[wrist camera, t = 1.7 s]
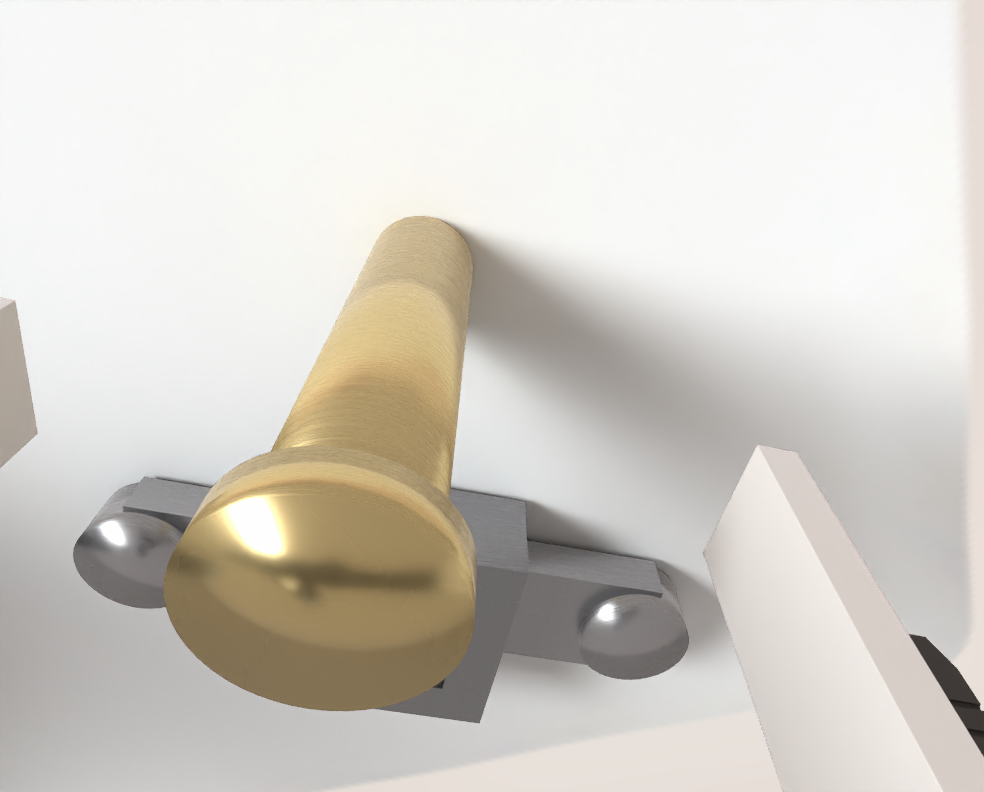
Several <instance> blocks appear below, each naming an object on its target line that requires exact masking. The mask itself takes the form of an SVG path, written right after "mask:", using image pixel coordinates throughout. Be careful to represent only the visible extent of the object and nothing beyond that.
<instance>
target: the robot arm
mask: <svg viewBox="0 0 984 792" xmlns="http://www.w3.org/2000/svg"><path fill="white" fill-rule="evenodd" d="M37 434H38V433H37V427H36V421H35V415H34V409H33V403H32V397H31V391H30V385H29V380H28V374H27V368H26V362H25V356H24V350H23V344H22V338H21V332H20V326H19V320H18V314H17V308H16V302H15V300H11V299H6V298H1V297H0V468H1V467H2V466H3V465H4V464H5V463H6V462H7V461H8V460H10V459H11V458H12V457H13V456H14V455H15V454H16V453H17V452H18V451H19V450H20V449H21V448H22V447H24V446H25V445H26V444H27V443H28V442H29V441H30V440H31V439H32V438H33V437H34V436H35V435H37ZM703 555H704V558H705V561H706V563H707V566H708V569H709V572H710V575H711V578H712V581H713V584H714V587H715V590H716V593H717V596H718V599H719V602H720V605H721V608H722V611H723V614H724V617H725V620H726V623H727V626H728V629H729V632H730V635H731V638H732V641H733V644H734V647H735V650H736V653H737V656H738V659H739V662H740V665H741V668H742V671H743V674H744V677H745V680H746V683H747V686H748V689H749V692H750V695H751V698H752V701H753V704H754V707H755V710H756V713H757V715H758V719H759V722H760V725H761V728H762V731H763V734H764V737H765V740H766V742H767V746H768V749H769V752H770V755H771V757H772V760H773V763H774V766H775V769H776V772H777V775H778V778H779V781H780V784H781V787H782V790H783V792H984V711H981V710H980V703H979V701H978V700H977V698H976V697H975V695H974V693H973V692H972V691H971V689H970V688H969V686H968V684H967V683H966V681H965V680H964V678H963V677H962V675H961V674H960V672H959V671H958V669H957V668H956V667H955V666H954V665H953V664H952V663H951V662H950V661H949V660H948V659H947V658H946V657H945V656H944V655H943V654H942V653H941V652H940V651H939V650H938V649H937V648H936V647H935V646H934V645H933V644H932V643H931V642H930V641H929V640H928V639H927V638H926V637H922V636H916V635H910V634H908V633H907V631H906V629H905V628H904V626H903V625H902V623H901V621H900V620H899V618H898V616H897V615H896V613H895V611H894V610H893V608H892V607H891V605H890V603H889V602H888V600H887V598H886V597H885V595H884V594H883V592H882V590H881V589H880V587H879V585H878V584H877V582H876V580H875V579H874V577H873V576H872V574H871V572H870V571H869V569H868V567H867V566H866V564H865V562H864V561H863V559H862V558H861V556H860V554H859V553H858V551H857V549H856V548H855V546H854V545H853V543H852V541H851V540H850V538H849V536H848V535H847V533H846V531H845V530H844V528H843V527H842V525H841V523H840V522H839V520H838V518H837V517H836V515H835V513H834V512H833V510H832V509H831V507H830V505H829V504H828V502H827V500H826V499H825V497H824V496H823V494H822V492H821V491H820V489H819V487H818V486H817V484H816V482H815V481H814V479H813V478H812V476H811V474H810V473H809V471H808V469H807V468H806V466H805V465H804V463H803V461H802V460H801V458H800V456H799V455H798V453H797V452H793V451H788V450H783V449H778V448H772V447H767V446H762V445H757V447H756V449H755V451H754V453H753V455H752V457H751V459H750V461H749V463H748V465H747V467H746V469H745V471H744V473H743V475H742V477H741V479H740V481H739V483H738V484H737V486H736V488H735V490H734V492H733V494H732V496H731V498H730V500H729V502H728V504H727V506H726V508H725V510H724V512H723V514H722V516H721V518H720V520H719V522H718V524H717V526H716V528H715V530H714V532H713V534H712V536H711V538H710V540H709V542H708V544H707V546H706V548H705V550H704V552H703Z"/></svg>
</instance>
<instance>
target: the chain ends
mask: <svg viewBox="0 0 984 792" xmlns="http://www.w3.org/2000/svg"><path fill="white" fill-rule="evenodd" d="M210 490H211V488H209V487H203V486H197V485H191V484H185V483H179V482H173V481H167V480H161V479H155V478H149V477H144V478H143V479H142V480H141V482H140V483H135V484H131V485H128V486H125V487H123V488H121V489H119V490H118V491H117V492H115V493H114V494H113V495H112V496H111V498H110V499H109V500H108V501H107V503H106V504H105V505H104V507H103V508H102V509H101V510H100V512H99V513H98V514H97V516H96V517H95V518H94V520H93V521H92V522H91V523H90V525H89V526H88V527H87V529H86V530H85V531H84V532H83V534H82V535H81V536H80V538H79V539H78V541H77V542H76V544H75V547H74V552H73V557H74V563H75V566H76V568H77V570H78V572H79V574H80V575H81V577H82V578H83V579H84V580H85V581H86V583H87V584H88V585H89V586H91V587H92V588H93V589H94V590H96V591H97V592H98V593H100V594H101V595H103V596H105V597H107V598H109V599H111V600H113V601H115V602H118V603H121V604H124V605H127V606H132V607H137V608H161V607H166V605H165V599H164V576H165V572H166V568H167V564H168V562H169V560H170V557H171V555H172V553H173V551H174V549H175V548H176V546H177V544H178V542H179V541H180V539H181V537H182V536H183V534H184V532H185V531H186V529H187V527H188V525H189V524H190V522H191V520H192V519H193V517H194V515H195V513H196V512H197V510H198V508H199V507H200V505H201V503H202V502H203V500H204V498H205V497H206V495H207V494H208V493H209V491H210ZM449 499H450V500H451V501H452V503H453V504H454V505H455V507H456V508H457V509H458V511H459V512H460V513H461V514H462V516H463V518H464V520H465V522H466V523H467V525H468V527H469V529H470V532H471V535H472V537H473V540H474V544H475V549H476V555H477V576H476V599H475V621H474V630H473V635H472V639H471V642H470V645H469V647H468V650H467V652H466V654H465V655H464V657H463V658H462V660H461V662H460V663H459V664H458V665H457V667H456V668H455V669H454V670H453V671H452V672H451V673H450V674H449V675H448V676H447V677H446V678H445V679H443V680H442V681H441V682H440V683H438V684H437V685H435V686H434V687H432V688H431V689H429V690H428V691H426V692H424V693H422V694H420V695H418V696H415V697H413V698H411V699H408V700H405V701H402V702H400V703H396V704H392V705H388V706H384V707H380V708H373V709H380V710H387V711H395V712H402V713H409V714H416V715H423V716H431V717H438V718H445V719H452V720H459V721H467V722H474V723H480V720H481V717H482V714H483V711H484V708H485V705H486V702H487V699H488V696H489V693H490V690H491V686H492V683H493V680H494V677H495V674H496V671H497V668H498V665H499V662H500V659H501V656H502V653H503V652H506V653H513V654H519V655H526V656H533V657H539V658H546V659H553V660H560V661H566V662H573V663H580V664H586V665H588V666H589V667H591V668H592V669H593V670H595V671H596V672H598V673H600V674H603V675H605V676H608V677H612V678H617V679H629V680H632V679H642V678H647V677H652V676H655V675H658V674H660V673H662V672H664V671H666V670H668V669H670V668H671V667H673V666H674V665H675V664H676V663H678V662H679V661H680V659H681V658H682V657H683V656H684V654H685V652H686V650H687V648H688V644H689V637H688V632H687V629H686V625H685V622H684V618H683V615H682V611H681V608H680V605H679V601H678V598H677V594H676V591H675V588H674V585H673V583H672V581H671V579H670V578H669V577H668V576H667V575H666V574H665V573H664V572H662V571H661V570H659V569H657V568H656V564H655V561H649V560H643V559H637V558H631V557H625V556H619V555H613V554H607V553H601V552H595V551H589V550H583V549H577V548H571V547H565V546H559V545H553V544H547V543H541V542H535V541H529V540H527V526H526V505H525V501H519V500H513V499H507V498H501V497H496V496H490V495H484V494H478V493H472V492H466V491H461V490H455V489H450V496H449Z"/></svg>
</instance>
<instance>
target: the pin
mask: <svg viewBox="0 0 984 792" xmlns="http://www.w3.org/2000/svg"><path fill="white" fill-rule="evenodd" d="M472 276H473V260H472V256H471V252H470V250H469V247H468V245H467V243H466V242H465V240H464V239H463V237H462V236H461V235H460V234H459V233H458V232H457V231H456V230H455V229H454V228H452V227H451V226H450V225H448V224H446V223H445V222H443V221H440V220H438V219H435V218H431V217H425V216H414V217H408V218H404V219H401V220H399V221H396V222H395V223H393V224H391V225H390V226H389V227H387V228H386V229H385V230H384V231H383V232H382V233H381V235H380V236H379V238H378V239H377V241H376V243H375V245H374V247H373V249H372V251H371V253H370V255H369V257H368V259H367V261H366V263H365V265H364V267H363V269H362V271H361V273H360V275H359V277H358V279H357V281H356V283H355V285H354V287H353V289H352V291H351V293H350V295H349V297H348V299H347V301H346V303H345V305H344V307H343V309H342V311H341V313H340V315H339V317H338V319H337V321H336V323H335V325H334V327H333V329H332V331H331V333H330V335H329V337H328V339H327V341H326V343H325V344H324V346H323V348H322V350H321V352H320V354H319V356H318V358H317V360H316V362H315V364H314V366H313V368H312V370H311V372H310V374H309V376H308V378H307V380H306V382H305V384H304V386H303V388H302V390H301V392H300V394H299V396H298V398H297V400H296V402H295V404H294V406H293V408H292V410H291V412H290V414H289V416H288V418H287V420H286V422H285V424H284V426H283V428H282V430H281V432H280V434H279V436H278V438H277V440H276V442H275V444H274V446H273V448H272V450H271V452H268V453H265V454H262V455H260V456H257V457H254V458H252V459H250V460H248V461H246V462H244V463H242V464H240V465H238V466H237V467H235V468H234V469H232V470H231V471H229V472H228V473H227V474H225V475H224V476H223V477H222V478H221V479H220V480H219V481H218V482H217V483H216V484H215V485H214V486H213V487H212V488H211V490H210V491H209V493H208V494H207V495H206V497H205V498H204V500H203V502H202V503H201V505H200V507H199V508H198V510H197V512H196V513H195V515H194V517H193V519H192V520H191V522H190V524H189V525H188V527H187V529H186V531H185V532H184V534H183V536H182V537H181V539H180V541H179V542H178V544H177V546H176V548H175V549H174V551H173V553H172V555H171V557H170V560H169V562H168V564H167V568H166V572H165V576H164V599H165V605H166V609H167V612H168V615H169V618H170V620H171V622H172V624H173V626H174V628H175V630H176V632H177V634H178V635H179V636H180V638H181V639H182V640H183V642H184V643H185V645H186V646H187V647H188V648H189V649H190V650H191V651H192V652H193V654H194V655H195V656H196V657H197V658H198V659H199V660H201V661H202V662H203V663H204V664H205V665H206V666H208V667H209V668H210V669H211V670H213V671H214V672H216V673H217V674H219V675H220V676H221V677H223V678H224V679H226V680H228V681H230V682H231V683H233V684H235V685H237V686H239V687H240V688H243V689H245V690H247V691H249V692H252V693H254V694H256V695H259V696H261V697H264V698H267V699H270V700H273V701H276V702H280V703H284V704H288V705H291V706H297V707H302V708H308V709H316V710H326V711H355V710H367V709H373V708H380V707H384V706H388V705H392V704H396V703H400V702H402V701H405V700H408V699H411V698H413V697H415V696H418V695H420V694H422V693H424V692H426V691H428V690H429V689H431V688H432V687H434V686H435V685H437V684H438V683H440V682H441V681H442V680H443V679H445V678H446V677H447V676H448V675H449V674H450V673H451V672H452V671H453V670H454V669H455V668H456V667H457V665H458V664H459V663H460V662H461V660H462V658H463V657H464V655H465V654H466V652H467V650H468V647H469V645H470V642H471V639H472V635H473V630H474V621H475V599H476V576H477V555H476V549H475V544H474V540H473V537H472V535H471V532H470V529H469V527H468V525H467V523H466V522H465V520H464V518H463V516H462V514H461V513H460V512H459V511H458V509H457V508H456V507H455V505H454V504H453V503H452V501H451V500H450V499H449V496H450V486H451V476H452V467H453V457H454V448H455V438H456V429H457V419H458V410H459V400H460V391H461V381H462V371H463V362H464V352H465V343H466V333H467V324H468V314H469V305H470V295H471V286H472Z"/></svg>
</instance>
